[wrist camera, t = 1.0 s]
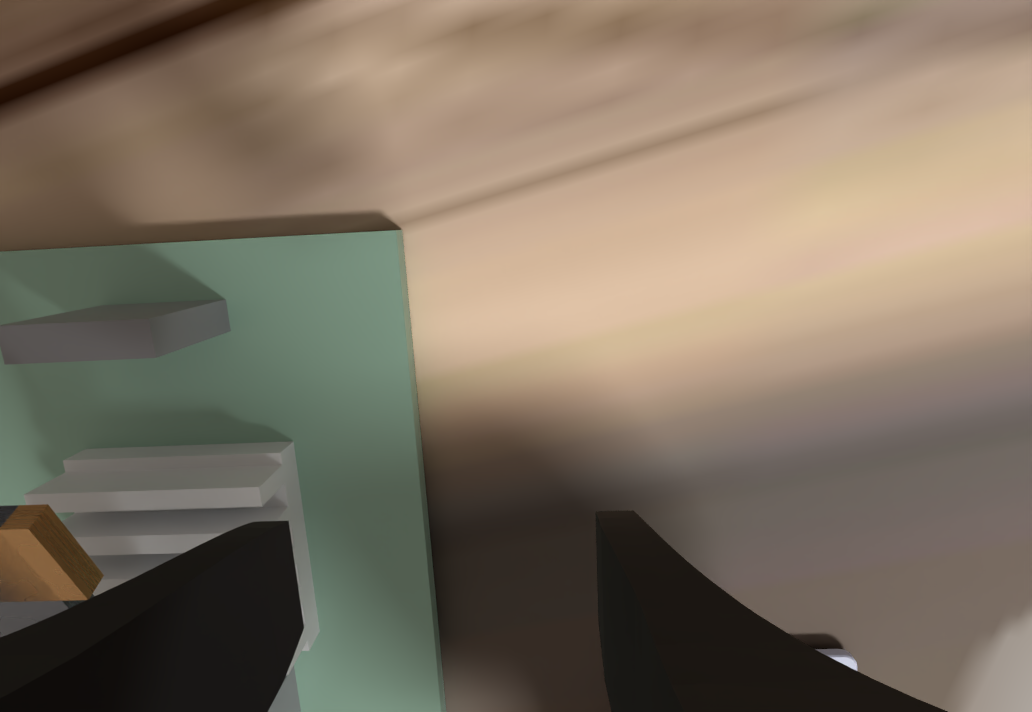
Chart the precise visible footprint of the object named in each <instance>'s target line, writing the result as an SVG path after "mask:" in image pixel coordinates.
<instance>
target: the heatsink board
mask: <svg viewBox="0 0 1032 712" xmlns="http://www.w3.org/2000/svg"><path fill="white" fill-rule="evenodd" d="M42 504H48V505H49V506H50V507H51V509H52V510H53V511H54V512H55V514H56V515H57V516H58V518H59V519H60V520H61V521H62V523H63V524H64V525H65V526H66V528H67V529H68V530H69V532H70V533H71V534H72V535H73V537H74V538H75V539H76V540H77V542H78V543H79V544H80V546H81V547H82V548H83V549H84V551H85V552H86V553H87V554H88V556H89V557H90V558H91V560H92V561H93V562H94V563H95V565H96V566H97V567H98V568H99V570H100V571H101V572H102V573H103V575H104V576H103V578H102V579H101V581H100V583H99V584H98V586H97V587H96V589H95V591H94V592H93V595H94V596H97V595H99V594H101V593H103V592H105V591H107V590H109V589H111V588H113V587H116V586H118V585H120V584H122V583H124V582H126V581H128V580H130V579H133V578H135V577H137V576H139V575H141V574H143V573H145V572H147V571H149V570H151V569H153V568H155V567H157V566H159V565H161V564H163V563H165V562H167V561H169V560H171V559H173V558H175V557H176V556H178V555H180V554H182V553H184V552H186V551H188V550H190V549H192V548H194V547H196V546H198V545H200V544H202V543H205V542H207V541H209V540H211V539H213V538H215V537H217V536H219V535H221V534H223V533H226V532H228V531H230V530H232V529H235V528H237V527H240V526H242V525H245V524H248V523H251V522H258V521H289V527H290V534H291V541H292V548H293V555H294V562H295V569H296V575H297V582H298V589H299V596H300V603H301V610H302V617H303V624H304V630H303V632H302V635H301V638H300V640H299V643H298V646H297V649H296V651H295V654H294V657H293V659H292V662H291V664H290V667H289V669H288V672H287V674H286V676H285V679H284V681H283V684H282V686H281V688H280V690H279V692H278V694H277V695H276V697H275V699H274V701H273V703H272V705H271V707H270V709H269V710H268V712H446V704H445V693H444V682H443V671H442V660H441V649H440V638H439V627H438V616H437V605H436V594H435V583H434V572H433V561H432V550H431V539H430V529H429V518H428V507H427V496H426V485H425V474H424V463H423V452H422V441H421V430H420V419H419V408H418V397H417V386H416V375H415V364H414V353H413V342H412V332H411V321H410V310H409V299H408V288H407V277H406V266H405V255H404V244H403V233H402V230H389V231H371V232H353V233H334V234H316V235H297V236H279V237H260V238H242V239H223V240H205V241H186V242H168V243H150V244H131V245H113V246H94V247H76V248H57V249H39V250H20V251H2V252H0V506H10V505H42Z"/></svg>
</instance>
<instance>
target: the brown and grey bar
mask: <svg viewBox="0 0 1032 712" xmlns="http://www.w3.org/2000/svg"><path fill="white" fill-rule="evenodd" d="M103 576H104V575H103V573H102V572H101V571H100V570H99V568H98V567H97V566H96V565H95V563H94V562H93V561H92V560H91V558H90V557H89V556H88V554H87V553H86V552H85V551H84V549H83V548H82V547H81V546H80V544H79V543H78V542H77V540H76V539H75V538H74V537H73V535H72V534H71V533H70V532H69V530H68V529H67V528H66V526H65V525H64V524H63V523H62V521H61V520H60V519H59V518H58V516H57V515H56V514H55V512H54V511H53V510H52V509H51V507H50V506H49V505H48V504H42V505H10V506H0V637H3V636H5V635H8V634H10V633H13V632H16V631H18V630H21V629H23V628H25V627H28V626H30V625H32V624H35V623H37V622H39V621H42V620H44V619H47V618H49V617H51V616H53V615H56V614H58V613H60V612H62V611H65V610H67V609H69V608H71V607H73V606H75V605H77V604H80V603H82V602H84V601H86V600H88V599H90V598H92V597H94V595H93V592H94V591H95V589H96V587H97V586H98V584H99V583H100V581H101V579H102V578H103Z"/></svg>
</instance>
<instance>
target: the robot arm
mask: <svg viewBox="0 0 1032 712" xmlns="http://www.w3.org/2000/svg"><path fill="white" fill-rule="evenodd" d="M596 543H597V579H598V616H599V630H600V639H601V649H602V658H603V667H604V676H605V683H606V687H607V692H608V697H609V701H610V706H611V710H612V712H947V711H945V710H942V709H940V708H938V707H935V706H933V705H930V704H928V703H926V702H923V701H921V700H918V699H916V698H913V697H911V696H909V695H907V694H905V693H902V692H900V691H898V690H896V689H894V688H891V687H889V686H887V685H885V684H883V683H880V682H878V681H876V680H874V679H872V678H870V677H868V676H866V675H864V674H862V673H860V672H858V671H857V662H856V661H855V659H854V658H853V657H852V655H851V654H850V652H848V651H846V650H843V649H814V648H812V647H810V646H808V645H806V644H805V643H803V642H801V641H799V640H798V639H796V638H794V637H793V636H791V635H789V634H788V633H786V632H784V631H783V630H781V629H780V628H778V627H776V626H775V625H773V624H772V623H770V622H768V621H767V620H765V619H764V618H762V617H760V616H759V615H757V614H756V613H754V612H753V611H751V610H750V609H748V608H747V607H745V606H744V605H743V604H741V603H740V602H738V601H737V600H736V599H734V598H733V597H732V596H730V595H729V594H728V593H726V592H725V591H724V590H722V589H721V588H720V587H718V586H717V585H716V584H714V583H713V582H712V581H710V580H709V579H708V578H707V577H705V576H704V575H703V574H702V573H700V572H699V571H698V570H697V569H696V568H694V567H693V566H692V565H691V564H690V563H689V562H687V561H686V560H685V559H684V558H683V557H682V556H681V555H679V554H678V553H677V552H676V551H675V550H674V549H673V548H672V547H671V546H670V545H669V544H667V543H666V542H665V541H664V540H663V539H662V538H661V537H660V536H659V535H658V534H657V533H656V532H655V531H654V530H653V529H652V528H651V527H650V526H649V525H648V524H647V523H646V522H645V521H644V520H643V519H642V518H641V517H639V516H638V515H637V514H636V513H635V512H634V511H600V512H596ZM303 630H304V624H303V617H302V610H301V603H300V596H299V589H298V582H297V575H296V569H295V562H294V555H293V548H292V541H291V534H290V527H289V521H258V522H251V523H248V524H245V525H242V526H240V527H237V528H235V529H232V530H230V531H228V532H226V533H223V534H221V535H219V536H217V537H215V538H213V539H211V540H209V541H207V542H205V543H202V544H200V545H198V546H196V547H194V548H192V549H190V550H188V551H186V552H184V553H182V554H180V555H178V556H176V557H175V558H173V559H171V560H169V561H167V562H165V563H163V564H161V565H159V566H157V567H155V568H153V569H151V570H149V571H147V572H145V573H143V574H141V575H139V576H137V577H135V578H133V579H130V580H128V581H126V582H124V583H122V584H120V585H118V586H116V587H113V588H111V589H109V590H107V591H105V592H103V593H101V594H99V595H97V596H94V597H92V598H90V599H88V600H86V601H84V602H82V603H80V604H77V605H75V606H73V607H71V608H69V609H67V610H65V611H62V612H60V613H58V614H56V615H53V616H51V617H49V618H47V619H44V620H42V621H39V622H37V623H35V624H32V625H30V626H28V627H25V628H23V629H21V630H18V631H16V632H13V633H10V634H8V635H5V636H3V637H0V712H268V710H269V709H270V707H271V705H272V703H273V701H274V699H275V697H276V695H277V694H278V692H279V690H280V688H281V686H282V684H283V681H284V679H285V676H286V674H287V672H288V669H289V667H290V664H291V662H292V659H293V657H294V654H295V651H296V649H297V646H298V643H299V640H300V638H301V635H302V632H303Z"/></svg>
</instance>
